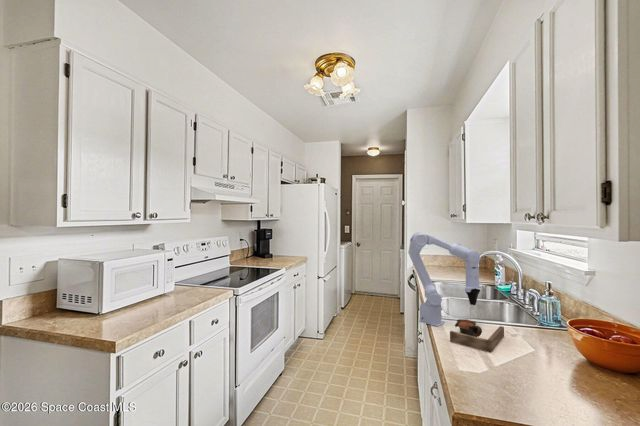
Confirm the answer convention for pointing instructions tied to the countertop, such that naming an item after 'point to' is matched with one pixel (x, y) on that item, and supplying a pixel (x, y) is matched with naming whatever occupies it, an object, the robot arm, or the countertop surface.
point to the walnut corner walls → (478, 340)
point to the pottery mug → (468, 327)
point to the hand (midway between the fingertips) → (472, 304)
